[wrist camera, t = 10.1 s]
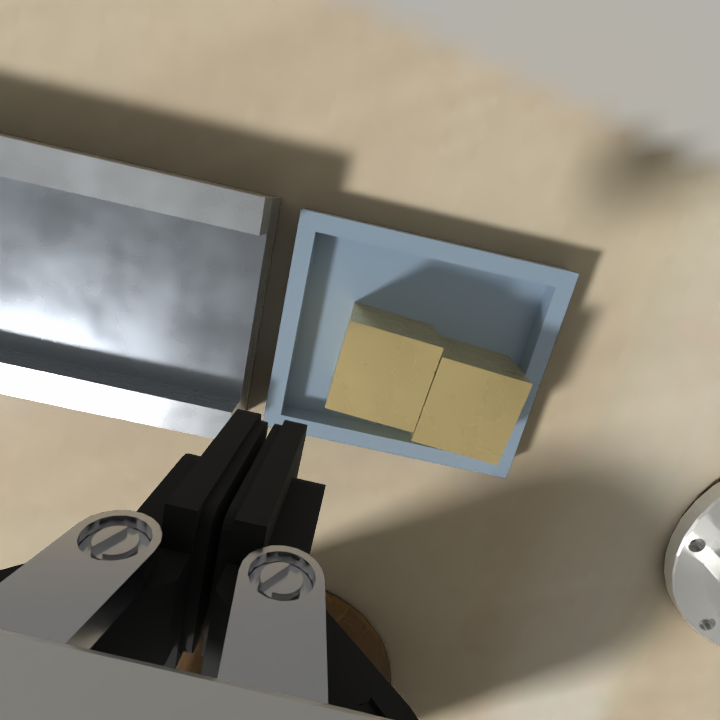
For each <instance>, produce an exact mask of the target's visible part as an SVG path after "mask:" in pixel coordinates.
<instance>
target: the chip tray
mask: <svg viewBox="0 0 720 720" xmlns="http://www.w3.org/2000/svg"><path fill="white" fill-rule="evenodd" d="M578 276H579V274H578V273H576V272H573V271H570V270H567V269H564V268H559V267H555V266H551V265H546V264H542V263H538V262H533V261H529V260H525V259H521V258H516V257H512V256H508V255H503V254H499V253H495V252H490V251H486V250H482V249H478V248H473V247H469V246H465V245H460V244H456V243H452V242H448V241H443V240H439V239H435V238H430V237H426V236H422V235H417V234H413V233H409V232H405V231H400V230H396V229H392V228H387V227H383V226H379V225H375V224H370V223H366V222H362V221H357V220H353V219H349V218H344V217H340V216H336V215H332V214H327V213H323V212H319V211H314V210H310V209H301V211H300V217H299V223H298V228H297V234H296V239H295V245H294V251H293V256H292V262H291V268H290V273H289V279H288V284H287V290H286V296H285V301H284V307H283V312H282V318H281V324H280V329H279V335H278V340H277V346H276V352H275V357H274V363H273V368H272V374H271V380H270V385H269V391H268V396H267V402H266V408H265V413H264V419H263V421H266V422H268V427H270V428H272V427H273V425H274V424H279V425H282V424H283V422H284V420H289V421H293V422H298V423H302V424H306V425H307V432H306V435H307V436H312V437H316V438H321V439H326V440H330V441H335V442H339V443H344V444H349V445H353V446H358V447H363V448H367V449H372V450H376V451H381V452H386V453H390V454H395V455H400V456H404V457H409V458H414V459H418V460H423V461H427V462H432V463H437V464H441V465H446V466H451V467H455V468H460V469H464V470H469V471H474V472H478V473H483V474H488V475H492V476H497V477H502V478H506V477H507V475H508V472H509V469H510V466H511V464H512V461H513V458H514V455H515V452H516V450H517V447H518V444H519V441H520V438H521V436H522V433H523V430H524V427H525V424H526V422H527V419H528V416H529V413H530V410H531V408H532V405H533V402H534V399H535V396H536V394H537V391H538V388H539V385H540V382H541V380H542V377H543V374H544V371H545V368H546V366H547V363H548V360H549V357H550V355H551V352H552V349H553V346H554V343H555V341H556V338H557V335H558V332H559V329H560V327H561V324H562V321H563V318H564V315H565V313H566V310H567V307H568V304H569V301H570V299H571V296H572V293H573V290H574V287H575V285H576V282H577V279H578ZM354 302H357V303H360V304H364V305H367V306H370V307H374V308H377V309H381V310H384V311H387V312H391V313H394V314H398V315H401V316H404V317H408V318H411V319H415V320H418V321H421V322H425V323H428V324H432V325H434V328H435V330H436V332H437V334H438V335H441V336H444V337H448V338H451V339H454V340H458V341H461V342H464V343H468V344H471V345H474V346H478V347H481V348H484V349H488V350H491V351H494V352H498V353H501V354H504V355H508V356H509V357H510V358H511V359H512V360H513V361H514V363H515V364H516V365H517V366H518V367H519V368H520V370H521V371H522V372H523V373H524V374H525V375H526V377H527V378H528V379H529V380H530V381H531V382H532V384H533V385H532V388H531V390H530V392H529V394H528V397H527V399H526V401H525V404H524V406H523V408H522V411H521V413H520V415H519V418H518V420H517V422H516V424H515V427H514V429H513V431H512V434H511V436H510V438H509V441H508V443H507V445H506V447H505V450H504V452H503V454H502V457H501V459H500V461H499V464H498V465H494V464H491V463H487V462H484V461H480V460H477V459H473V458H470V457H466V456H463V455H459V454H456V453H452V452H449V451H445V450H442V449H438V448H435V447H431V446H428V445H424V444H421V443H417V442H414V441H411V435H410V432H409V431H405V430H402V429H398V428H395V427H391V426H387V425H384V424H380V423H377V422H373V421H370V420H366V419H362V418H359V417H355V416H352V415H348V414H345V413H341V412H338V411H334V410H330V409H327V408H325V404H326V400H327V396H328V392H329V389H330V385H331V381H332V377H333V373H334V370H335V366H336V363H337V359H338V356H339V353H340V349H341V346H342V342H343V339H344V335H345V332H346V329H347V325H348V322H349V318H350V315H351V311H352V308H353V305H354Z"/></svg>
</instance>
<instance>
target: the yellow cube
mask: <svg viewBox="0 0 720 720" xmlns="http://www.w3.org/2000/svg"><path fill="white" fill-rule="evenodd" d="M443 349H444V347H443V345H442V343H441V341H440V339H439V336H438V334H437V332H436V330H435V328H434V325H432V324H428V323H425V322H421V321H418V320H415V319H411V318H408V317H404V316H401V315H398V314H394V313H391V312H387V311H384V310H381V309H377V308H374V307H370V306H367V305H364V304H360V303H357V302H354V305H353V308H352V311H351V315H350V318H349V322H348V325H347V329H346V332H345V335H344V339H343V342H342V346H341V349H340V353H339V356H338V359H337V363H336V366H335V370H334V373H333V377H332V381H331V385H330V389H329V392H328V396H327V400H326V404H325V408H327V409H330V410H334V411H338V412H341V413H345V414H348V415H352V416H355V417H359V418H362V419H366V420H370V421H373V422H377V423H380V424H384V425H387V426H391V427H395V428H398V429H402V430H405V431H409V432H412V433H414V430H415V427H416V424H417V421H418V419H419V416H420V413H421V410H422V408H423V405H424V402H425V399H426V396H427V394H428V391H429V388H430V385H431V382H432V380H433V377H434V374H435V371H436V369H437V366H438V363H439V360H440V357H441V355H442V352H443Z"/></svg>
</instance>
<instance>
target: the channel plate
mask: <svg viewBox="0 0 720 720" xmlns="http://www.w3.org/2000/svg"><path fill="white" fill-rule="evenodd" d="M280 203H281V198H278V197H274V196H270V195H265V194H261V193H257V192H253V191H248V190H244V189H240V188H235V187H231V186H227V185H223V184H218V183H214V182H210V181H205V180H201V179H197V178H192V177H188V176H184V175H180V174H175V173H171V172H167V171H162V170H158V169H154V168H150V167H145V166H141V165H137V164H132V163H128V162H124V161H120V160H115V159H111V158H107V157H102V156H98V155H94V154H90V153H85V152H81V151H77V150H72V149H68V148H64V147H60V146H55V145H51V144H47V143H42V142H38V141H34V140H29V139H25V138H21V137H17V136H12V135H8V134H4V133H0V393H2V394H6V395H11V396H16V397H20V398H25V399H30V400H34V401H39V402H44V403H48V404H53V405H58V406H62V407H67V408H72V409H76V410H81V411H86V412H90V413H95V414H100V415H104V416H109V417H114V418H118V419H123V420H128V421H132V422H137V423H142V424H146V425H151V426H156V427H160V428H165V429H170V430H174V431H179V432H184V433H188V434H193V435H198V436H202V437H207V438H212V439H215V437H216V436H217V435H218V433H219V432H220V431H221V429H222V428H223V427H224V426H225V424H226V423H227V422H228V420H229V419H230V418H231V416H232V415H233V414H234V412H235V411H236V410H237V409H241V410H246V408H247V402H248V396H249V390H250V384H251V378H252V372H253V366H254V360H255V354H256V348H257V342H258V336H259V330H260V324H261V318H262V312H263V306H264V300H265V294H266V288H267V282H268V276H269V269H270V263H271V257H272V251H273V245H274V239H275V233H276V227H277V221H278V215H279V209H280Z"/></svg>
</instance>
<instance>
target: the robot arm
mask: <svg viewBox="0 0 720 720" xmlns="http://www.w3.org/2000/svg"><path fill="white" fill-rule="evenodd" d="M267 429H268V422H266V421H262V420H261V414H259V413H254V412H250V411H246V410H241V409H237V410H236V411H235V412H234V414H233V415H232V416H231V418H230V419H229V420H228V422H227V423H226V424H225V426H224V427H223V428H222V429H221V431H220V432H219V433H218V435H217V436H216V437H215V439H214V440H213V441H212V442H211V444H210V445H209V446H208V448H207V449H206V450H205V452H204V453H203V454H202V456H197V455H192V454H185V455H184V456H183V457H182V458H181V459H180V460H179V461H178V463H177V464H176V465H175V466H174V467H173V469H172V470H171V471H170V472H169V473H168V475H167V476H166V477H165V478H164V479H163V481H162V482H161V483H160V484H159V485H158V487H157V488H156V489H155V490H154V491H153V492H152V494H151V495H150V496H149V497H148V498H147V500H146V501H145V502H144V503H143V504H142V506H141V507H140V508H139V509H138V510H137V512H135V511H131V510H114V511H107V512H102V513H99V514H96V515H93V516H90V517H88V518H86V519H84V520H83V521H81V522H79V523H78V524H76V525H75V526H74V527H72V528H71V529H70V530H69V531H67V532H66V533H65V534H63V535H62V536H61V537H59V538H58V539H57V540H55V541H54V542H53V543H51V544H50V545H49V546H48V547H46V548H45V549H44V550H42V551H41V552H40V553H38V554H37V555H36V556H34V557H33V558H32V559H31V560H29V561H28V562H27V563H25V564H21V565H18V566H14V567H10V568H7V569H3V570H0V720H418V718H417V717H416V715H415V714H414V712H413V711H412V709H411V708H410V707H409V705H408V704H407V703H406V702H405V701H404V700H403V698H402V697H401V696H400V695H399V694H398V693H397V691H396V690H395V689H394V688H393V687H392V686H391V685H390V683H389V682H388V681H387V680H386V679H385V678H384V676H383V675H382V674H381V673H380V672H379V671H378V669H377V668H376V667H375V666H374V665H373V664H372V662H371V661H370V660H369V659H368V658H367V657H366V655H365V654H364V653H363V652H362V651H361V650H360V649H359V647H358V646H357V645H356V644H355V643H354V642H353V640H352V639H351V638H350V637H349V636H348V635H347V633H346V632H345V631H344V630H343V629H342V628H341V626H340V625H339V624H338V623H337V622H336V621H335V619H334V618H333V617H332V616H331V615H330V614H329V612H328V611H327V610H326V605H325V578H324V574H323V570H322V568H321V567H320V565H319V564H318V562H317V561H316V560H315V559H314V558H313V557H311V556H310V551H311V546H312V542H313V538H314V534H315V529H316V525H317V521H318V516H319V512H320V508H321V503H322V499H323V495H324V490H325V486H326V485H323V484H319V483H315V482H310V481H306V480H302V479H297V475H298V470H299V465H300V460H301V456H302V451H303V446H304V441H305V437H306V432H307V425H306V424H302V423H298V422H293V421H289V420H284V422H283V424H282V425H279V424H274V425H273V427H272V429H271V431H270V433H269V434H268V436H267V438H266V435H267ZM664 576H665V582H666V588H667V591H668V593H669V595H670V597H671V600H672V602H673V604H674V605H675V607H676V608H677V609H678V611H679V612H680V614H681V615H682V616H683V618H684V619H685V621H686V622H687V623H688V624H689V625H690V626H691V627H692V628H693V629H694V630H695V631H696V632H697V633H698V634H700V635H701V636H703V637H704V638H706V639H707V640H709V641H710V642H712V643H714V644H716V645H719V646H720V482H718V483H717V484H715V485H714V486H712V487H711V488H710V489H709V490H708V491H706V492H705V493H704V494H703V495H702V496H701V497H700V498H698V499H697V500H696V501H695V502H694V503H693V504H692V506H691V507H690V508H689V509H688V511H687V512H686V513H685V514H684V515H683V517H682V518H681V519H680V521H679V523H678V525H677V527H676V528H675V530H674V532H673V534H672V536H671V538H670V541H669V544H668V548H667V551H666V554H665V565H664ZM204 629H205V632H204V638H203V644H202V650H201V656H204V659H203V665H202V671H201V672H202V674H203V675H201V674H196V673H192V672H187V671H183V670H179V669H176V667H177V665H178V663H179V660H180V658H181V656H182V654H183V652H188V653H193V652H194V651H195V649H196V647H197V644H198V642H199V640H200V638H201V635H202V633H203V631H204Z"/></svg>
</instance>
